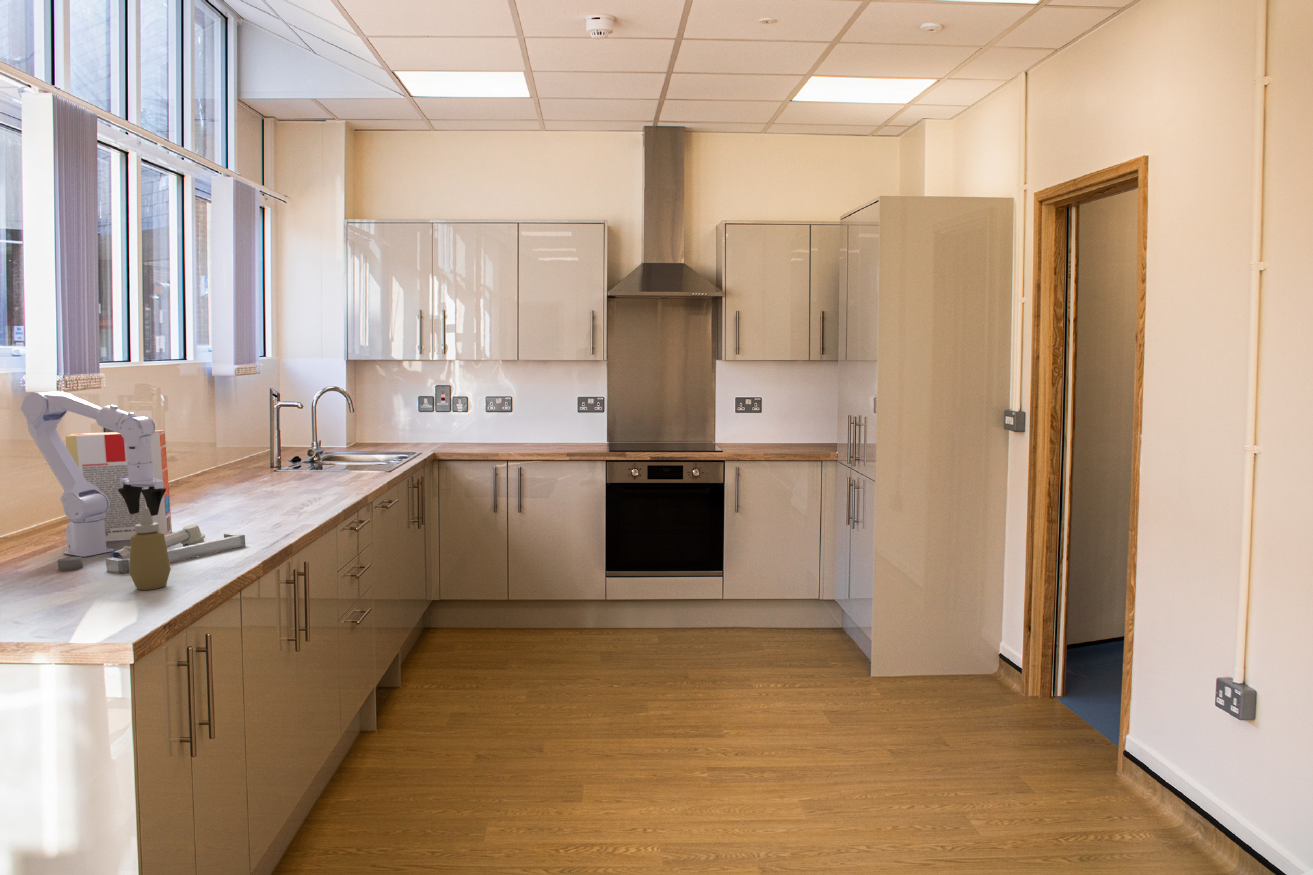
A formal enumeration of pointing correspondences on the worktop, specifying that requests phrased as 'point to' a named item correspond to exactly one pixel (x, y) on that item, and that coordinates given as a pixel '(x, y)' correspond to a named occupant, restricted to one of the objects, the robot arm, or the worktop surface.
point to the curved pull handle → (184, 552)
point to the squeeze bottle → (148, 555)
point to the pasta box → (107, 465)
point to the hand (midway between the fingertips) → (143, 514)
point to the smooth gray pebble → (70, 563)
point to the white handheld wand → (170, 540)
